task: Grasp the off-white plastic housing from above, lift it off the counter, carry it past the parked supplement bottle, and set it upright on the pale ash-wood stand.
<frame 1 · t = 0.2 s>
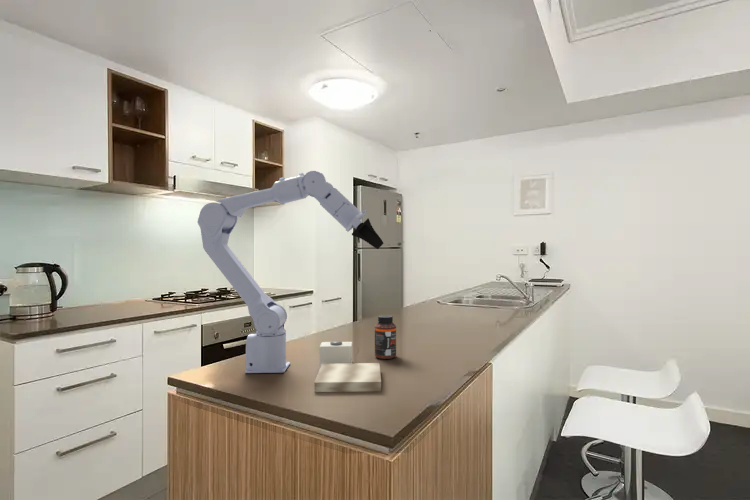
hand: (380, 246, 103), 31 cm above the counter, tool tilted 45°, fingers open, 7 cm apart
housing: (336, 365, 106), on the counter
supplement bottle: (385, 357, 113), on the counter
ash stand: (349, 380, 93), on the counter
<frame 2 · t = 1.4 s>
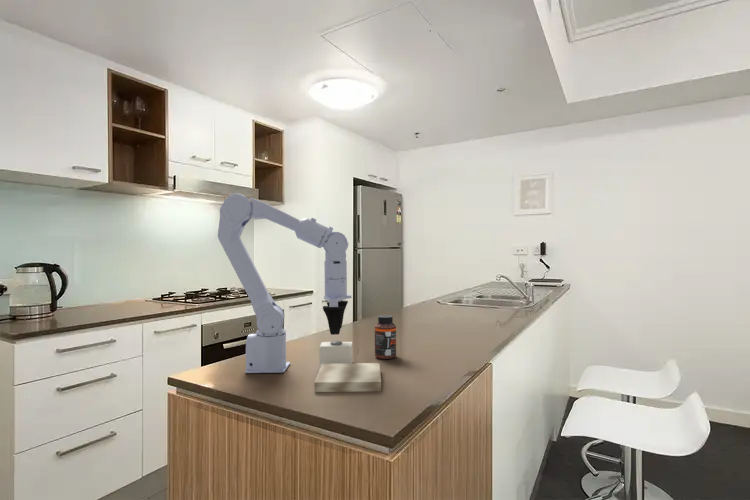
hand: (336, 331, 106), 9 cm above the counter, tool pointing down, fingers open, 7 cm apart
nothing on the counter moved.
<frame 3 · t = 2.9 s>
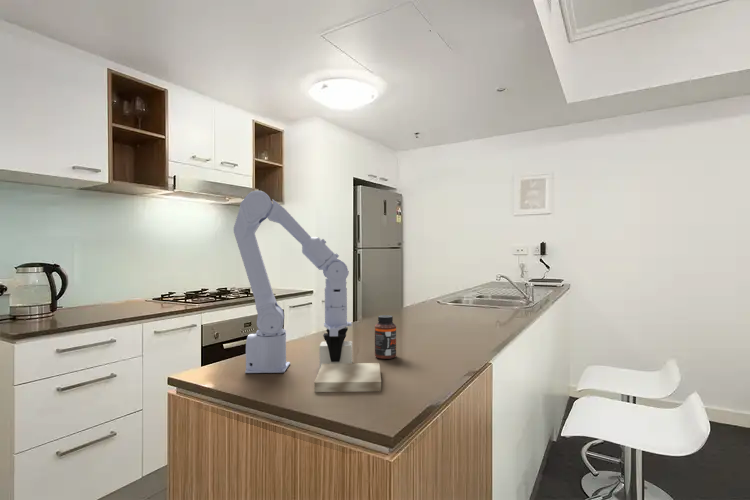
hand: (336, 358, 106), 2 cm above the counter, tool pointing down, fingers closed on housing, 5 cm apart
housing: (336, 364, 106), on the counter, touching gripper
everything else where it was.
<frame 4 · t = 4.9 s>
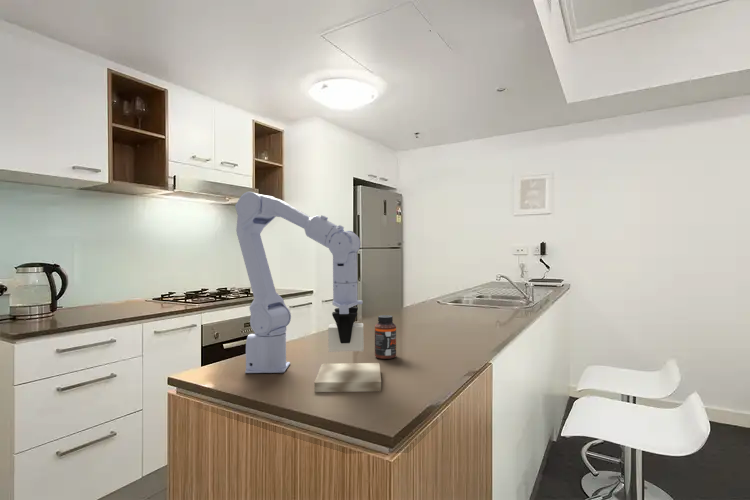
hand: (345, 340, 96), 8 cm above the counter, tool pointing down, fingers closed on housing, 5 cm apart
housing: (346, 348, 96), point 6 cm above the counter, touching gripper
everything else where it was.
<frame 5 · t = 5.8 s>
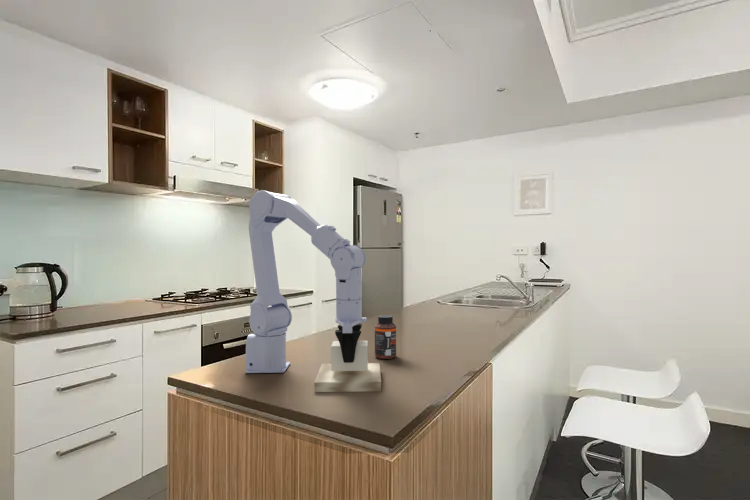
hand: (349, 358, 93), 5 cm above the counter, tool pointing down, fingers closed on housing, 5 cm apart
housing: (350, 367, 93), point 3 cm above the counter, touching gripper
everything else where it was.
when the fingers open (5 cm above the counter, at t = 6.8 s): housing stays where it is, resting on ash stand.
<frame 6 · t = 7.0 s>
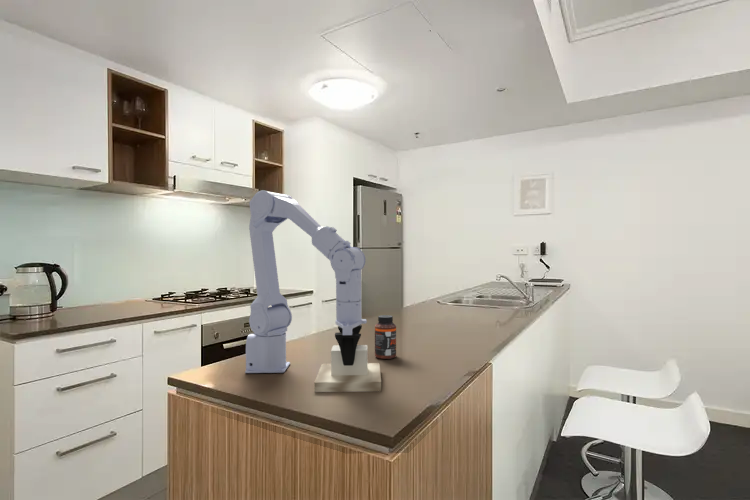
hand: (349, 360, 93), 5 cm above the counter, tool pointing down, fingers open, 7 cm apart
housing: (349, 371, 93), point 2 cm above the counter, touching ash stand
everything else where it was.
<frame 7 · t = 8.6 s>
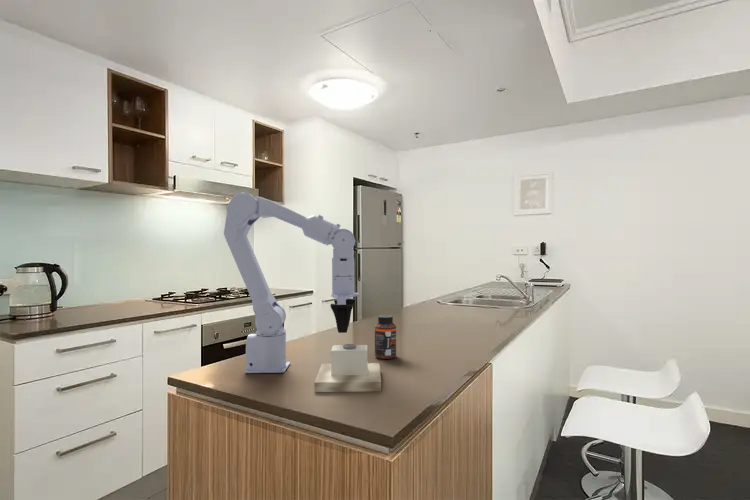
hand: (343, 329, 105), 9 cm above the counter, tool pointing down, fingers open, 7 cm apart
nothing on the counter moved.
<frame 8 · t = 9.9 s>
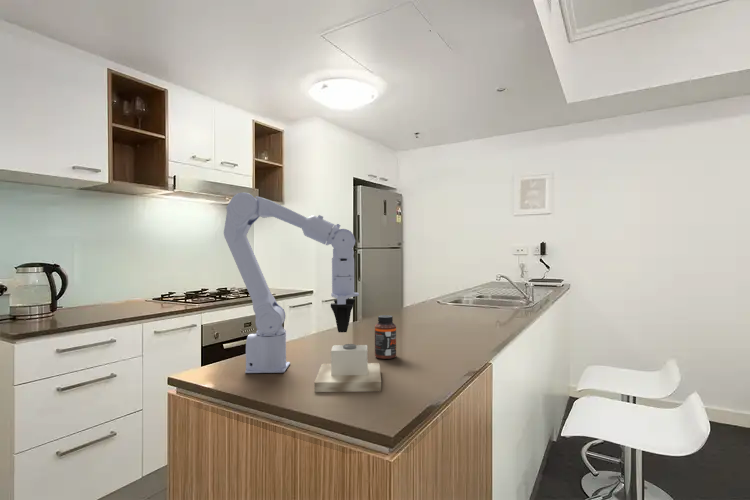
hand: (343, 329, 105), 9 cm above the counter, tool pointing down, fingers open, 7 cm apart
nothing on the counter moved.
at the end: housing inside the target area on the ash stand (0.1 cm from its centre), point 2.0 cm above the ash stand's base; housing tilted 0°; the gripper is holding nothing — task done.
